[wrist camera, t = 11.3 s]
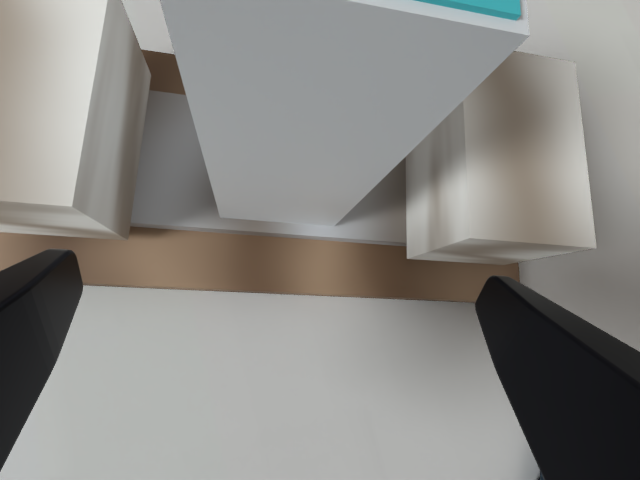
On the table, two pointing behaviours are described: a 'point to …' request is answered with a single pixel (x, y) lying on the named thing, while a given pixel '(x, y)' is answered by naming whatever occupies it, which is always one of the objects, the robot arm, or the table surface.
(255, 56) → the logic module
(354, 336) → the table surface
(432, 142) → the rail board
